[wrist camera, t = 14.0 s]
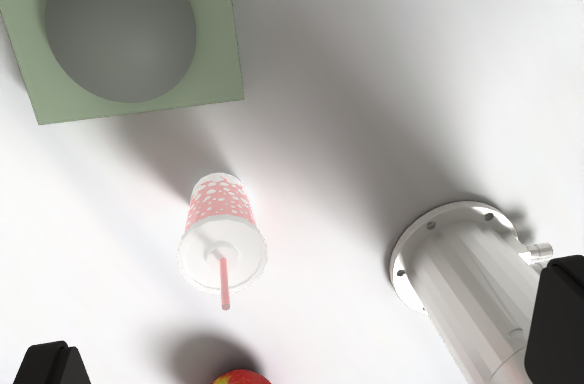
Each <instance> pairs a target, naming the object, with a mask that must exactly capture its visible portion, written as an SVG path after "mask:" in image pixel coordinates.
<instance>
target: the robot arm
mask: <svg viewBox="0 0 584 384" xmlns="http://www.w3.org/2000/svg"><path fill="white" fill-rule="evenodd" d="M552 255H553V249H552V246H551V245H550V244H549V243H542V244H536V245H533V246H528V247H527V246H526V245H523V244H521V243H520V242H519V240H518V236H517V232H516V230H515V228H514V226H513V224H512V223H511V221H510V220H509V219H508V218H507V217H506V216H505V215H504V214H503V213H501V212H500V211H499V210H498V209H496V208H494V207H492V206H490V205H488V204H485V203H481V202H476V201H460V202H454V203H449V204H446V205H443V206H440V207H437V208H435V209H433V210H431V211H429V212H427V213H426V214H424V215H423V216H421V217H420V218H419V219H417V220H416V221H415V222H414V223H412V224H411V225H410V226H409V227H408V228H407V229H406V230H405V232H404V233H403V234H402V236H401V237H400V238H399V240H398V242H397V244H396V246H395V248H394V250H393V252H392V256H391V259H390V268H389V273H390V279H391V283H392V285H393V287H394V289H395V291H396V293H397V295H398V296H399V298H400V299H401V300H402V301H403V302H404V303H405V304H406V305H407V306H409V307H410V308H412V309H413V310H415V311H418V312H421V313H424V314H428V316H429V318H430V319H431V321H432V323H433V325H434V326H435V328H436V330H437V331H438V333H439V335H440V336H441V338H442V340H443V342H444V343H445V345H446V347H447V348H448V350H449V352H450V354H451V355H452V357H453V359H454V360H455V362H456V364H457V366H458V367H459V369H460V371H461V372H462V374H463V376H464V377H465V379H466V381H467V383H468V384H584V256H582V255H573V256H567V257H561V258H555V259H551V260H550V261H545V262H539V263H535V264H533V265H529V262H530V260H533V259H543V258H549V257H552ZM13 384H91V382H90V380H89V377H88V374H87V372H86V369H85V366H84V364H83V361H82V359H81V356H80V353H79V351H78V349H77V348H76V347H68V345H67V343H66V342H65V341H56V342H50V343H44V344H38V345H32V346H30V347H29V348H28V350H27V352H26V354H25V356H24V359H23V361H22V363H21V366H20V368H19V370H18V373H17V375H16V378H15V380H14V382H13Z"/></svg>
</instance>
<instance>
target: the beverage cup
mask: <svg viewBox="0 0 584 384" xmlns="http://www.w3.org/2000/svg"><path fill="white" fill-rule="evenodd" d="M177 260H178V266H179V271H180V273H181V274H182V275H183V277H184V278H185V279H186V281H187V282H188V283H189V284H190V285H192V286H194V287H195V288H197V289H199V290H201V291H202V292H207V293H212V294H218V295H221V298H222V309H223V310H228V309H229V308H230V301H229V293H236V292H238V291H240V290H242V289H244V288H246V287H248V286H251V285H252V284H253V283H254V282H255V281H256V280H257V279H258V278H259V277H260V276H261V275H262V273H263V270H264V268H265V265H266V263H267V248H266V243H265V239H264V238H263V236H262V234H261V233H260V231H259V230H258V228H257V225H256V222H255V218H254V215H253V212H252V208H251V205H250V202H249V199H248V195H247V192H246V189H245V188H244V186H243V184H242V183H241V181H240V180H238V179H237V178H235V177H234V176H233V175H229V174H225V173H213V174H209V175H207V176H205V177H203V178H201V179H200V180H199V181H198V183H197V184H196V185H195V186H194V189H193V192H192V195H191V200H190V206H189V211H188V217H187V223H186V228H185V233H184V235H183V236H182V238H181V242H180V245H179V248H178V253H177Z"/></svg>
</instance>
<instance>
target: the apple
mask: <svg viewBox="0 0 584 384" xmlns="http://www.w3.org/2000/svg"><path fill="white" fill-rule="evenodd" d="M211 384H271V383H270V382H269V381H268V380H267V379H266V378H265V377H263V376H262V375H260V374H258V373H256V372H253V371H250V370H245V369H235V370H231V371H229V372H227V373H224V374H223V375H221V376H219V377H218V378H217V379H215V380H214V381H213V382H212V383H211Z"/></svg>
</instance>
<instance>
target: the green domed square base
mask: <svg viewBox="0 0 584 384" xmlns="http://www.w3.org/2000/svg"><path fill="white" fill-rule="evenodd" d="M0 11H1V14H2V17H3V20H4V23H5V26H6V29H7V32H8V35H9V38H10V41H11V44H12V47H13V50H14V53H15V56H16V59H17V62H18V65H19V68H20V71H21V74H22V77H23V80H24V83H25V86H26V89H27V92H28V95H29V98H30V101H31V104H32V107H33V110H34V113H35V116H36V119H37V122H38V125H44V124H52V123H60V122H69V121H77V120H85V119H93V118H101V117H109V116H117V115H125V114H133V113H141V112H149V111H157V110H165V109H173V108H181V107H189V106H197V105H205V104H213V103H221V102H229V101H237V100H244V93H243V86H242V78H241V70H240V62H239V54H238V47H237V39H236V31H235V23H234V15H233V8H232V0H0Z"/></svg>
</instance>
